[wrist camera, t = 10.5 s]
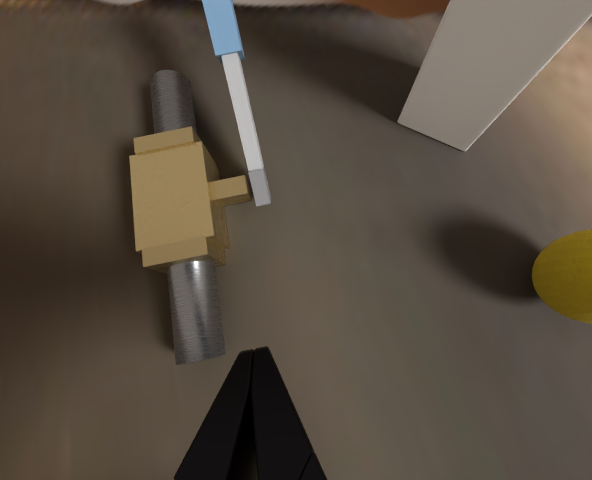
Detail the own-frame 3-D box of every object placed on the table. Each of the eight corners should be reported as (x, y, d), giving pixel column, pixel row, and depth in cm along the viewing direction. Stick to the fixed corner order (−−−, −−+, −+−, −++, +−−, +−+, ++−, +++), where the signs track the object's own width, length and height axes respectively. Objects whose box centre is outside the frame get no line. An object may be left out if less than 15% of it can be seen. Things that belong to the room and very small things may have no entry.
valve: (278, 341, 22) (271, 347, 18) (173, 362, 22) (142, 373, 18) (234, 86, 27) (221, 46, 23) (150, 103, 28) (121, 67, 23)
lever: (284, 201, 21) (213, -142, 16) (241, 210, 21) (155, -130, 16) (283, 193, 24) (223, -99, 18) (245, 201, 24) (173, -89, 18)
